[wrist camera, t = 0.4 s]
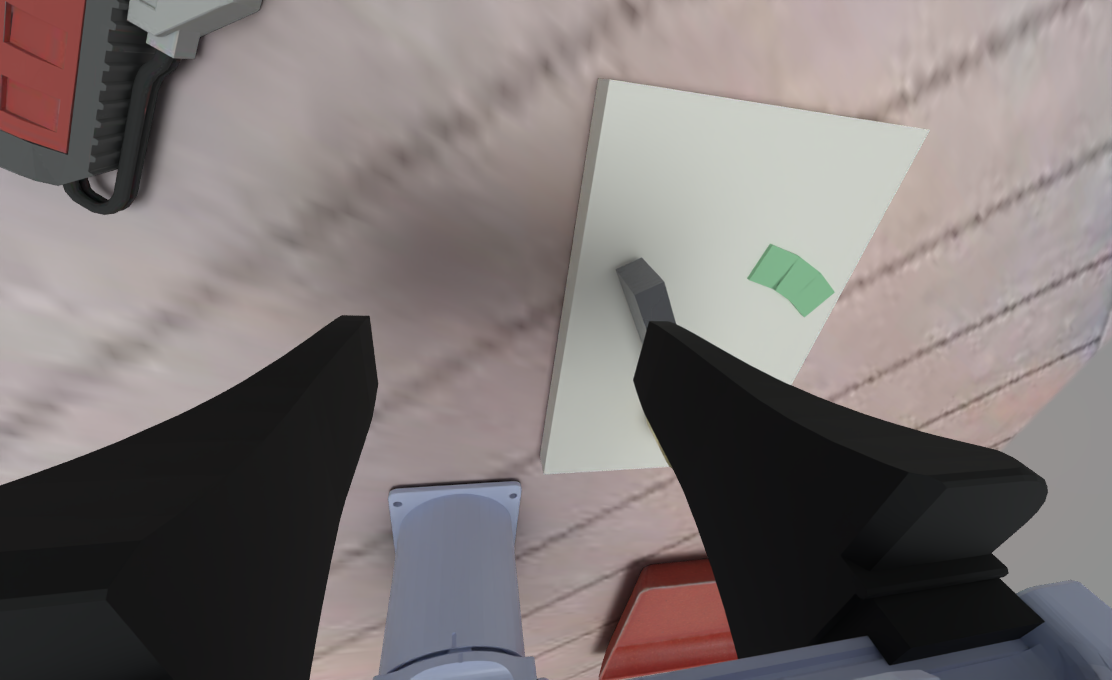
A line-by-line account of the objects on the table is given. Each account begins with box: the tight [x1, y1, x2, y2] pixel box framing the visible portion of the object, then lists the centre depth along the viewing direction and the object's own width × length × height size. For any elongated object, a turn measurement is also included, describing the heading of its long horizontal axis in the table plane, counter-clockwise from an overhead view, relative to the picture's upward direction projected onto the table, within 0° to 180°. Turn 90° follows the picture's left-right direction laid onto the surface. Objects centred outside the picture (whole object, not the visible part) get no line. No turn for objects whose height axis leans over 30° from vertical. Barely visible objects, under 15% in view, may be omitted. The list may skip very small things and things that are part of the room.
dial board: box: [540, 78, 930, 474], centre depth 21 cm, size 20×14×2 cm
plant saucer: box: [599, 559, 738, 680], centre depth 40 cm, size 18×18×3 cm
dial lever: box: [615, 257, 676, 469], centre depth 20 cm, size 12×4×3 cm, turn 23°
